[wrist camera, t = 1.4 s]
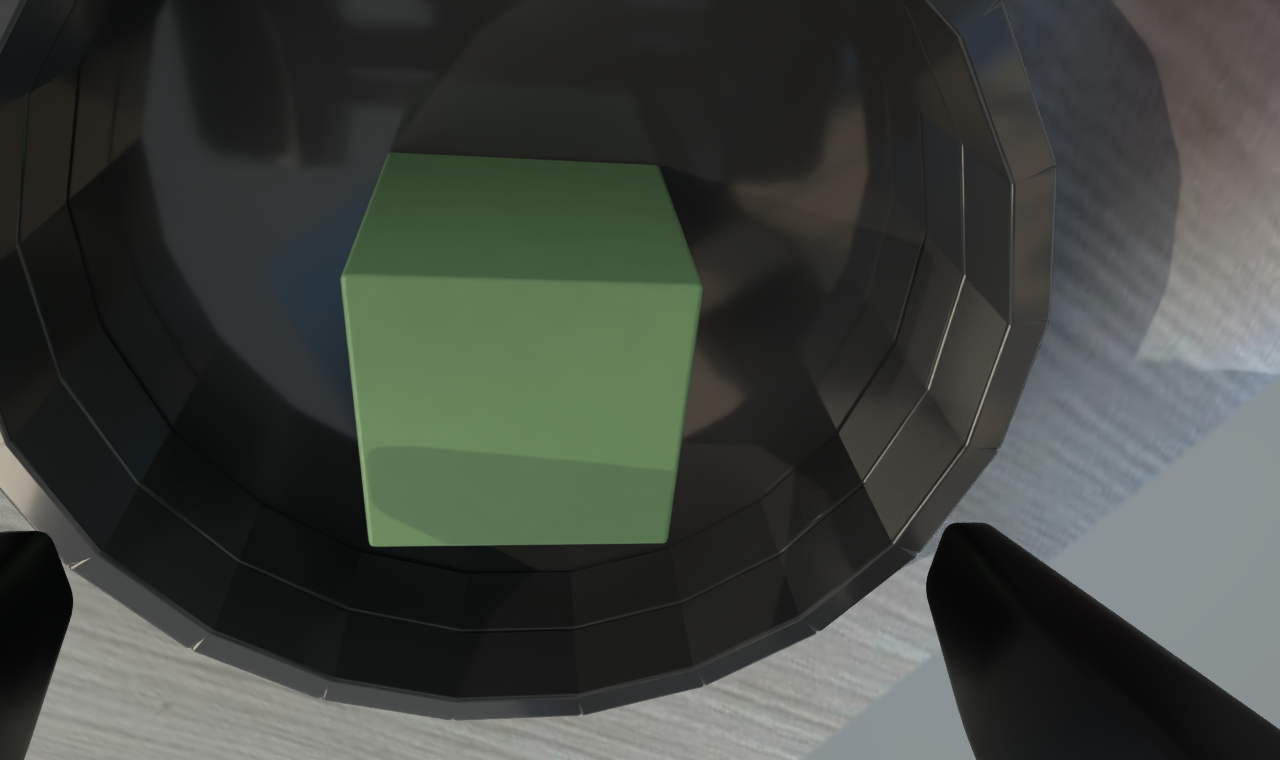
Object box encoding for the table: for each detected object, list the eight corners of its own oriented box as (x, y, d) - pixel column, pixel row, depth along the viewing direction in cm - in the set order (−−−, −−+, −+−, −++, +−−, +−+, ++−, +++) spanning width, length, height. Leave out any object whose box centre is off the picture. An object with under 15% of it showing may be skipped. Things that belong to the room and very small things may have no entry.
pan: (1075, -206, 12) (1257, -206, 9) (845, 568, 19) (902, 705, 16) (-118, -342, 10) (-393, -401, 7) (155, 579, 17) (80, 737, 14)
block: (659, 163, 13) (705, 286, 10) (637, 384, 15) (668, 545, 12) (386, 150, 13) (338, 276, 9) (402, 381, 15) (367, 549, 12)
